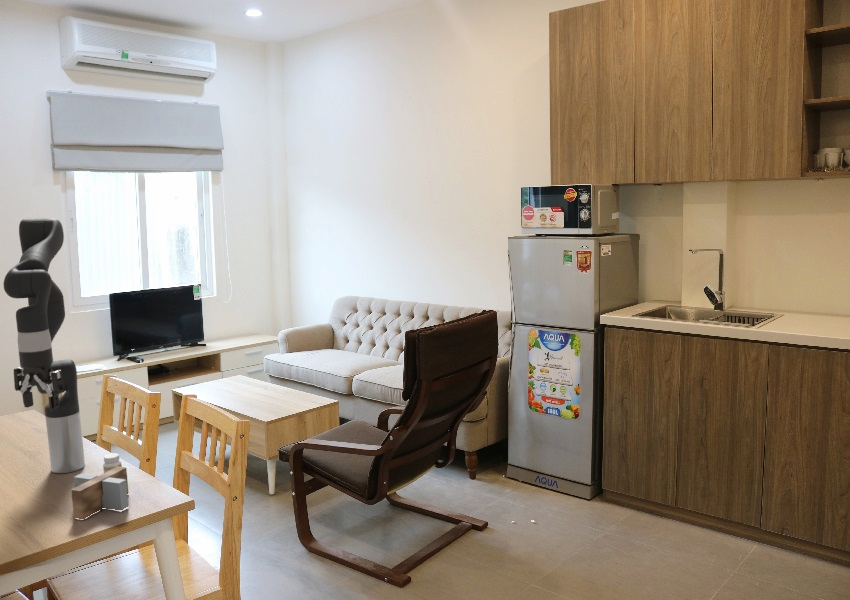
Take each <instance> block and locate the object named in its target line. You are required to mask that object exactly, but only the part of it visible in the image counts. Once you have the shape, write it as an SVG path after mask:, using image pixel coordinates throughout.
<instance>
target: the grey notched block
mask: <svg viewBox="0 0 850 600" xmlns="http://www.w3.org/2000/svg"><path fill="white" fill-rule="evenodd" d="M97 476H98V475H96V474H88V473H80V474H79V473H78V474H77V475H75V476H73V483H74V488H75V487H77V486H79V485H81V484H83V483H85V482H87V481H89V480H91V479H93V478H95V477H97ZM102 487H103V495H102V496H101V506H102V508H106V509H115V510H123V509H124V508H126V507H128V506H129V496H128V495H127V484H126V480H125V479H118V478H111V477H109V478H107V479H105V480H103V481H102Z"/></svg>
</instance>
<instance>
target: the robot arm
mask: <svg viewBox="0 0 850 600" xmlns="http://www.w3.org/2000/svg"><path fill="white" fill-rule="evenodd" d="M18 225H19V226H18V234H19V235H18V236H19V241H20V247H21V248H20V249H21V254H22V255H21V256H20V259H19V262H18V263H17V264H15V265H14V266H13V267H12V268H11V269H10V270H8V271H7V273H6V275H5V277H4V279H3V290H4V292H5V293H6V295H7V296H8V297H9V298H12V299H27V301H28V302H27V303H28V304H27V306H24V307H21V308H18V309H17V310H16V311H15V320H16V328H17V348H18V356H19V357H18V359H19V365H20V366H18V367H16V368H14V369H13V381H14V384H13V385H14V390H15V391H16V392H17V391H19V392H20V393H21V394H22V402H23V406H24V408H31V407H33V406H34V398H33V397H34V396H33V391H32V389H33V388H34V387H36V389H37V391H38V393H40V394H42V395H48V403H47V404H46V405H45V407H44V416H45V423H46V424H45V425H46V434H47V443H48V452H49V462H50V470H51V471H50V472H51V473H55V474H66V473H67V474H68V473H72V472H76V471H78V470H81V469H82V468H84V467H85V466H86V464H85V454H84V452H85V449H84V441H83V433H82V432H83V431H82V421H81V413H80V403H79V395H78V394H79V393H78V371H77V366H76V363H75V362H74V360H72V359H69V358H68V359H61V360H54V357H53V347H52V342H53V341H54V339H55V337H56V335H57V334H58V332H59V331H60V329H61V327H62V325H63V323H64V321H65V319H66V311H65V299H64V298H65V297H64V294H63V292H62V290H61V289H60V287H59V286H58V284H56V283H55V281H54V280H53V279H52V277H51V275H50V273H49V269H50V265H51V262H52V261H53V259H54V258H55V257H56V256H57V254H58V253H59V251H60V250H61V249H62V246H63V243H64V242H65V237H64V236H65V235H64V234H65V233H64V228H63V224H62V222H61V221H60V220H59V219H57V218H52V217H50V218H49V217H48V218H46V217H45V218H44V217H43V218H25V219H22V220H20V222H19V224H18ZM60 394H63V395H61V396H60V397H59V395H60Z"/></svg>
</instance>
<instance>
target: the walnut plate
mask: <svg viewBox="0 0 850 600" xmlns="http://www.w3.org/2000/svg"><path fill="white" fill-rule="evenodd" d="M127 471H128V470H127V467H123V466H122V467H118V466H117V467H115V468H113V469H111V470H109V471H107V472H105V473H104V472H103V473H101V474H100V475H96V476H97V477H95V478H93V479H91V480H89V481H87V482H85V483H83V484H81V485H79V486H77V487H75V486H74V487H73V488H72V489H70V493H71V501H72V503H71V504H72V513H73V519H74V518H79V519H85V518H86V517H88V516H90V515H91V514H93V513H95V512H97V511H99V510H101V509H102V506H101V496H102V495H103V487H102V481H103V480H105V479H107V478H109V477H111V478H118V479H125V480H126V484H127V494H128V493H130V492H129V483H128V472H127Z"/></svg>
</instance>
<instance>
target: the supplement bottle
mask: <svg viewBox="0 0 850 600" xmlns="http://www.w3.org/2000/svg"><path fill="white" fill-rule="evenodd" d="M117 466H118V467H123V466H122V461H121V459H120V454H119V453H116V452H113V453H108V454H106V455H104V456H103V465H102V467H103V473H105V472H107V471H109V470H111V469H113V468H115V467H117Z"/></svg>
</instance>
